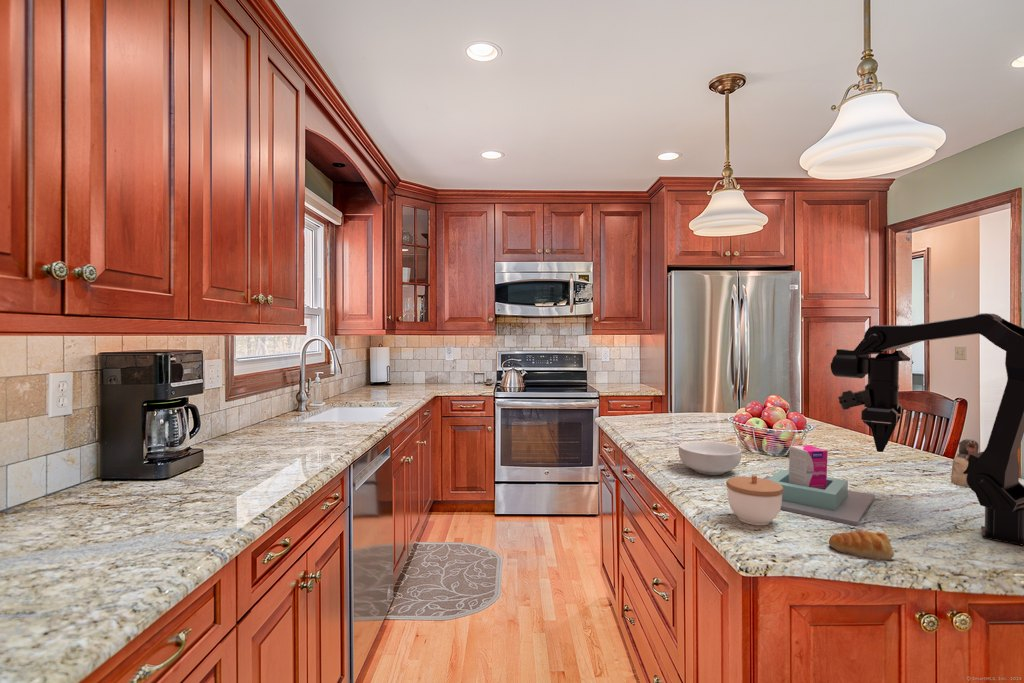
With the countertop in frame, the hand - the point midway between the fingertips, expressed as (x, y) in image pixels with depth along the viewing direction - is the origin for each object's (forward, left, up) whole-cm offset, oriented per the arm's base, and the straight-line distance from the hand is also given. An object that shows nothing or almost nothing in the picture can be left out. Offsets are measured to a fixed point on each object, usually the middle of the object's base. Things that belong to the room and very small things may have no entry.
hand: (881, 448), depth 118 cm
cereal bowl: (+3, +40, -13) cm, 42 cm away
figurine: (+34, -16, -13) cm, 40 cm away
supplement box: (-7, +14, -12) cm, 20 cm away
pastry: (-33, 0, -14) cm, 36 cm away
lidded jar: (-29, +19, -13) cm, 38 cm away
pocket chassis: (-7, +14, -13) cm, 20 cm away
